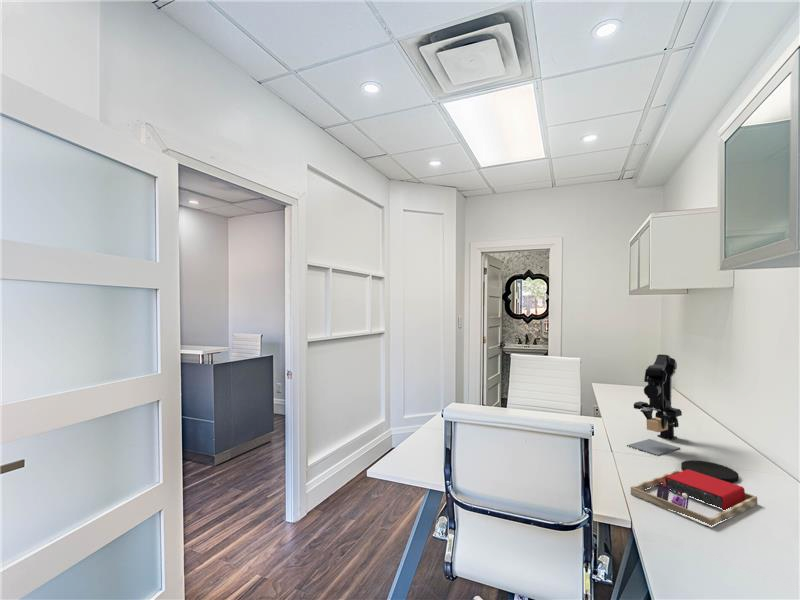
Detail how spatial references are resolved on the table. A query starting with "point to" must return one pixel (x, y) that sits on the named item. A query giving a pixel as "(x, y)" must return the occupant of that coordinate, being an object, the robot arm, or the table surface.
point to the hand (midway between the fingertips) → (657, 427)
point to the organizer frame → (726, 514)
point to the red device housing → (707, 488)
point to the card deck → (656, 425)
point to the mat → (653, 447)
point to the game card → (676, 499)
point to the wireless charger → (711, 470)
